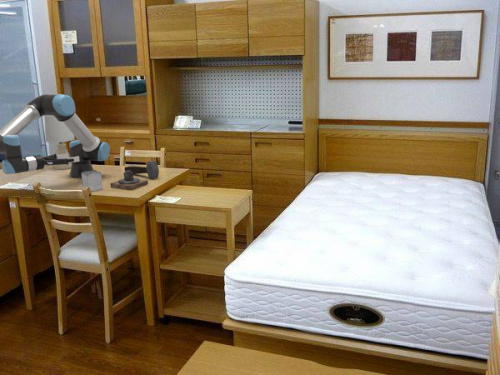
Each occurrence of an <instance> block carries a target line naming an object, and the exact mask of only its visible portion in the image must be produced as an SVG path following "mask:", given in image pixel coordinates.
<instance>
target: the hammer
mask: <svg viewBox="0 0 500 375" xmlns="http://www.w3.org/2000/svg"><path fill="white" fill-rule="evenodd" d="M128 170H130V171H132V172H133V175H141V174H147V177H148V178H149V179H150V180H156V179H155V178H157V179H158V178H159V175H160V169H159V166H158V163H157V162H156V160H150V161H149V160H148V161H147V162H146V166H138V165H137V166H135V165H130V166H129V165H128V166H124V172H125V171H128Z"/></svg>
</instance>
